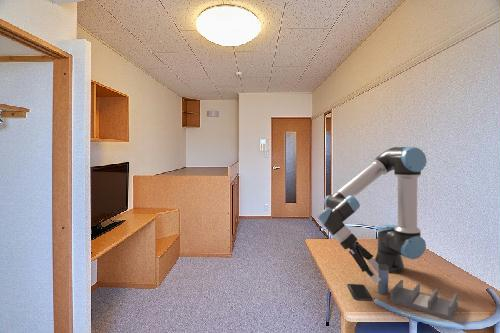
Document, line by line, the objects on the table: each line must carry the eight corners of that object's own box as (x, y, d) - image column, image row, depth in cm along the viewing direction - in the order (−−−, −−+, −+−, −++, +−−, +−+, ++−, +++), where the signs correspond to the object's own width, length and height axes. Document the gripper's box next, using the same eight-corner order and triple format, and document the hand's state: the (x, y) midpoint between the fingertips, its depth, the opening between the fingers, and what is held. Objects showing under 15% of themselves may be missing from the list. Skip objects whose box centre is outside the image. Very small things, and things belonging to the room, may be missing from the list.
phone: (354, 298, 134) (346, 283, 149) (354, 300, 134) (346, 285, 149) (373, 299, 133) (364, 284, 148) (373, 302, 133) (364, 286, 148)
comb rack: (399, 290, 144) (400, 279, 144) (457, 306, 130) (458, 293, 130) (389, 301, 132) (389, 290, 132) (451, 320, 118) (452, 307, 118)
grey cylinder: (379, 289, 144) (380, 263, 144) (389, 292, 142) (390, 265, 141) (376, 292, 141) (377, 265, 141) (386, 295, 138) (387, 268, 138)
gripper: (343, 236, 160) (375, 271, 154) (334, 249, 137) (370, 291, 131) (355, 227, 157) (387, 262, 151) (347, 239, 135) (384, 281, 129)
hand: (379, 276), depth 141 cm, fingers open, 13 cm apart
